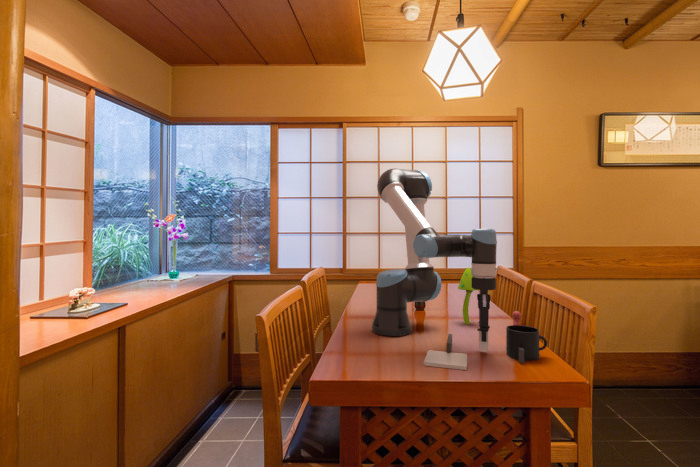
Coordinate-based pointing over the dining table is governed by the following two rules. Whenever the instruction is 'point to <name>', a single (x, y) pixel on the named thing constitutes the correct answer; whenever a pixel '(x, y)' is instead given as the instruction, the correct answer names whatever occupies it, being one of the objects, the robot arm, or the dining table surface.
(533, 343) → the mug
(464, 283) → the mushroom
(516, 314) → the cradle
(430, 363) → the plate
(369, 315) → the dining table surface
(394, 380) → the dining table surface
